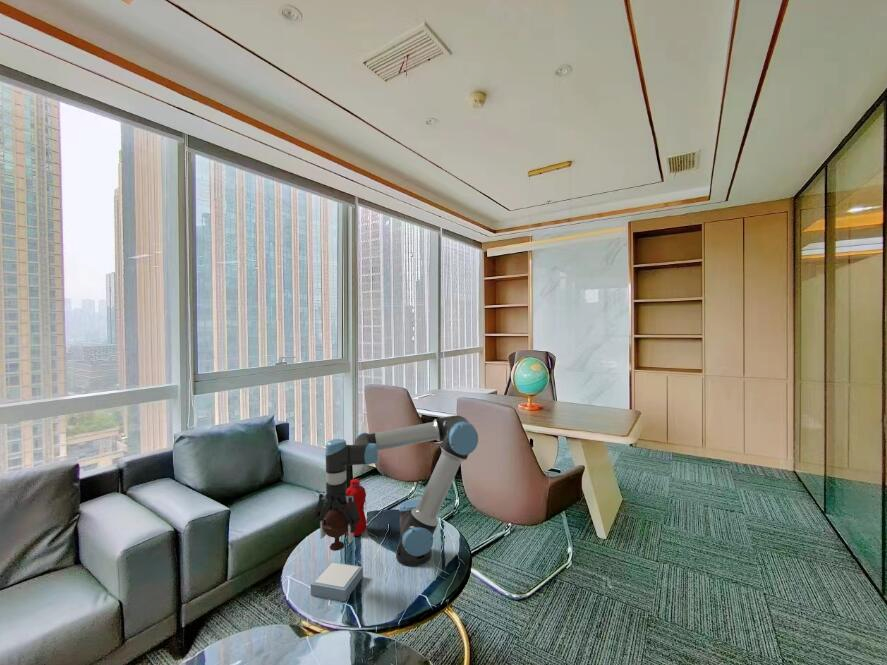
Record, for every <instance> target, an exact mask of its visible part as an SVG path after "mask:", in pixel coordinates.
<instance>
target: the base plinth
mask: <svg viewBox="0 0 887 665" xmlns="http://www.w3.org/2000/svg"><path fill="white" fill-rule="evenodd" d="M363 568H364V567H363V566H359V565H356V564H355V565H354V564H349V563H343V562H335V561H330V562H329V563H328V564H327V566H326V567H324V569H323V570H322V571H321V572H320V573H318V576H317V577H316V578H315V579H314V580H313V581H312V582H311V583H310V595H311V596H314V597H320V598H324V599H325V598H326V599H331V600H337V601H342V602H346V601H347V599H349V597H350V595H351V594H352V593H353V591H354V590H355V588H356V587H357V586H358V584H359V583H360V582H361V580H362V579H363V577H364V571H363V570H364V569H363Z"/></svg>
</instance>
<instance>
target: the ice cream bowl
mask: <svg viewBox="0 0 887 665" xmlns="http://www.w3.org/2000/svg"><path fill="white" fill-rule="evenodd" d="M325 518H326V519H325V520H324V521H323V523H322V528H323V530H324V532H325V533H326V535H325V536H328V537H330V538H333V539H334V542H332V543H331V544H330V546H329V550H330V551H333V552H335V551H341V550H342V549H344V547H345V546H346V545H345V543H344V541H341V540H340V538H341V537H342V536H344V535H346V532H347V531H348V525H349V524H350V523H349V521H348V519H347V518H346V516H345V514H344V512H343V511H342V510H341V509H340V508H339V507H335V508H331V509H329V510H328V511H327V513H326V515H325Z"/></svg>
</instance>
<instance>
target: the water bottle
mask: <svg viewBox="0 0 887 665" xmlns="http://www.w3.org/2000/svg"><path fill="white" fill-rule="evenodd" d="M349 482H350V485H349V487H347V490H346V494H347V496H352V495H354V502H355V505H356V508H357V511H358V514H359V517H360V521H359V522H358V523H357V524H355V532H354V537H357V536H360V535H361V534H363V533H364V532H365V531H366V530H367V526H368V525H367V518H366V515H365V510H366V509H367V507H365V504H367V500H366V499H367V498H366V497H367V492H366V488H365V487H364V486H362V485H361V482H360V479H358V478H353V479H351V480H350V481H349ZM346 502H347V500H346ZM347 504H348V502H347ZM348 507H349V504H348ZM349 509H350V508H349ZM346 534H347V535H348V531H347V532H346V533H345V535H346Z"/></svg>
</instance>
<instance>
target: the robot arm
mask: <svg viewBox="0 0 887 665" xmlns="http://www.w3.org/2000/svg"><path fill="white" fill-rule="evenodd" d="M435 440H436V441H437V442H439V443H440V442H441V444H440V446H439V447H440V449H441V453H440V456H439V458H438V460H437V462H436V464H435V467H434V468H433V472H432V474H431V475H430V478H429V480H428V482H427V485H426V486H425V489H424V491H423V494H422V496H421V498H420V499H408V500H404V501H403V502H401V503H400V505H399V510H398V511H399V540H398V544H397V547H396V551H395V558H396V561H397V562H398V563H399V564H401V565H403V566H405V567H419V566H422V565H424V564H426V563H428V562H429V561H430V559H431V558H432V547H433V546H434V539H435V538H434V534H435V531H436V530H437V526H438V525H439V521H438V518H437V517H438V515H439V513H440V510H441V508H442V506H443V504H444V501H445V500H446V497H447V495H448V492H449V490H450V488H451V486H452V485H453V484H452V483H453V481H454V479H455V477H456V475H457V472H458V471H459V467H460V465H461V463H463V461H466V460H468V457H469V455H470V454H471V453H473V452H474V451H475V449H477V446H478V443H479V434H478V431H477V430H476V427H475V426H474V425H473V424H472V423H470V422H469V420H467V418H465V417H463V416H461V415H448V416H444V417H439V418H435V419H434V420H433V421H430V422H426V423H421V424H416V425H409V426H405V427H400V428H395V429H389V430H388V429H387V430H384V431H378V432H374V433H373V432H372V433H367V432H362V433H359V434H358V435H357V436H356V437H355V440H354V444H347V441H346V440H345V439H341V438H335V439H331V440H329V441H327V442H326V444H325V482H326V483H325V491H322V492H321V493H320V494H319V495H318V502H317V505H316V508H315V512H314V515H313V518H314V519H317V520H318V529H319V530H320V532H319V534H320V539H323V538H324V537H326V536H327V535H326V533H325V532H324V530H323V528H322V523H323V521H324V520H325V519H326V515H327V512H328V511H329V510H330V508H331V507H335V508H339V509H340V510H342V511H343V512H344V514H345V516H346V518H347V519H348V521H349V523H350V524H349V525H348V534H347V541H348V542H347V543H352V541H353V540H354V539H355V538H354V537H355V536H354V532H355V524H357V523H358V522H359V521H360V517H359V514H358V511H357V508H356V505H355V502H354V495H352V496H347V494H346V490H347V489H348V487H347V486H348V485H347V466H357V465H358V466H359V465H372V464H376V463H378V461H379V458H378V452H380V451H385V450H390V449H396V448H400V447H406V446H410V445H417V444H421V443H427V442H431V441H435ZM325 500H327V503H326V504H325ZM346 500H347V502H348V504H349V507H348V504H347V502H346ZM324 504H325V506H324ZM323 507H324V508H323ZM349 508H350V509H349Z"/></svg>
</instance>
